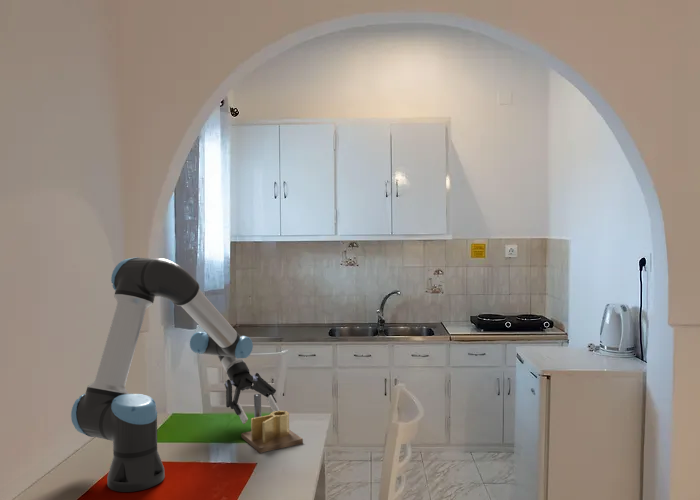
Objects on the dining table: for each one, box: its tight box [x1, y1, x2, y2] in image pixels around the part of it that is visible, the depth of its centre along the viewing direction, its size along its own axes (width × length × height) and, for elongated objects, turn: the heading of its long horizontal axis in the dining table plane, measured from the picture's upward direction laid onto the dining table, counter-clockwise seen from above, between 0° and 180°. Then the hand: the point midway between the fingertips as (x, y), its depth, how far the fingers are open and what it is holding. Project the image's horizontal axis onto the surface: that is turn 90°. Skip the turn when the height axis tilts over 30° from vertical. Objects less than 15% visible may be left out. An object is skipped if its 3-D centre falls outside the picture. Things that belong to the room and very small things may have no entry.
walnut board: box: [240, 429, 304, 454], centre depth 198 cm, size 15×16×2 cm
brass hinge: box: [250, 410, 290, 444], centre depth 196 cm, size 13×9×7 cm
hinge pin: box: [253, 393, 262, 418], centre depth 209 cm, size 2×2×12 cm
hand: (261, 417), depth 207 cm, fingers open, 13 cm apart
